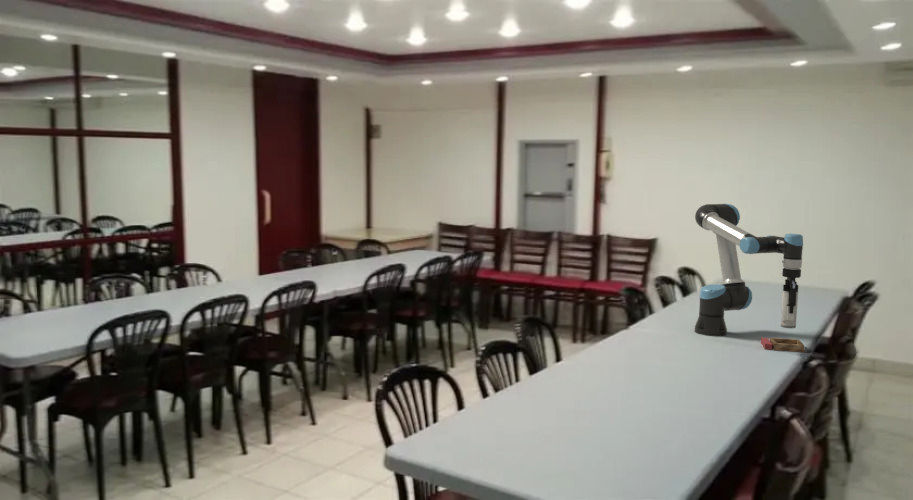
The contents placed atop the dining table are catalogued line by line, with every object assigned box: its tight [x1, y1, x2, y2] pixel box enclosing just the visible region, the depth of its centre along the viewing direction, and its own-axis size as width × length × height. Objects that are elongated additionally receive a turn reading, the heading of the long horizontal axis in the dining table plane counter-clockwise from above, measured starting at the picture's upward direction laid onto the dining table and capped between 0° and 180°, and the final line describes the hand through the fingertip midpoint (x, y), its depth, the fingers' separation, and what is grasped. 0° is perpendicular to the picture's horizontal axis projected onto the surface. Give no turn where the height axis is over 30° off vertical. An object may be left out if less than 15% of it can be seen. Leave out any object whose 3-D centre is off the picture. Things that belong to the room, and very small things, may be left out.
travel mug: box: [780, 284, 799, 329], centre depth 322 cm, size 6×7×20 cm
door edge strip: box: [760, 337, 773, 351], centre depth 327 cm, size 3×12×2 cm, turn 165°
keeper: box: [769, 337, 806, 353], centre depth 325 cm, size 13×13×3 cm
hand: (788, 318), depth 323 cm, fingers closed on travel mug, 6 cm apart
